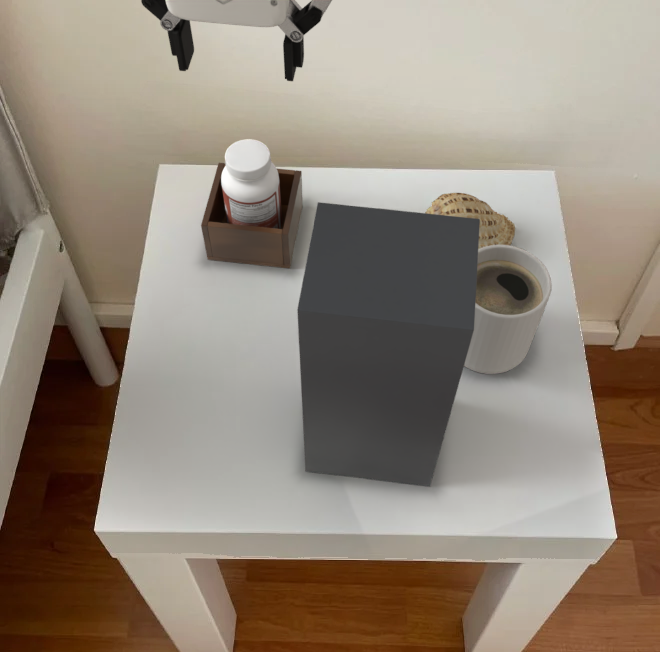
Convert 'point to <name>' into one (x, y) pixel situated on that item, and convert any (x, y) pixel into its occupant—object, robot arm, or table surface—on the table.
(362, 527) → the table surface
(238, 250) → the wooden box
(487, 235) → the seashell
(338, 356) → the block
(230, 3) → the robot arm
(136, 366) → the table surface
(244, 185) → the pill bottle
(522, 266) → the mug
